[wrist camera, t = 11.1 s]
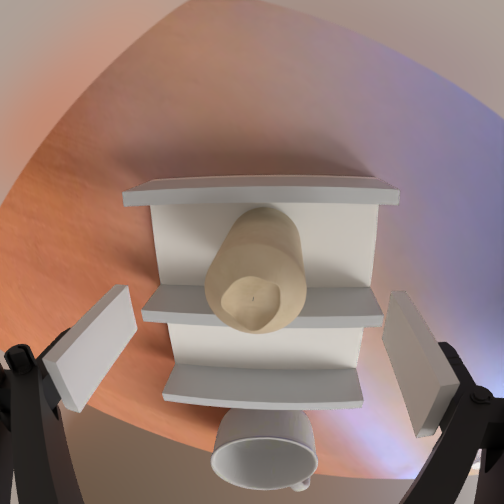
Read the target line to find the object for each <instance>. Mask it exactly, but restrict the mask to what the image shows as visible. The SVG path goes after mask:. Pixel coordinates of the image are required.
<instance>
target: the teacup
mask: <svg viewBox="0 0 504 504" xmlns="http://www.w3.org/2000/svg"><path fill="white" fill-rule="evenodd" d="M211 466H212V468H213V470H214V472H215V473H216V474H217V475H218V476H219V477H220V478H222V479H224V480H225V481H227V482H229V483H232V484H234V485H236V486H239V487H244V488H248V489H255V490H274V489H280V488H286V487H290V488H292V489H293V490H294V491H302V490H305V489H306V488H308V487H309V485H310V476H311V475H312V474H313V473H314V472H315V470H316V468H317V466H318V458H317V455H316V450H315V441H314V435H313V430H312V426H311V423H310V421H309V419H308V417H307V415H306V414H305V413H304V412H303V411H302V410H263V409H243V408H231V409H230V410H229V411H228V412H227V413H226V414H225V416H224V417H223V419H222V421H221V423H220V425H219V429H218V432H217V436H216V441H215V445H214V451H213V453H212V455H211Z"/></svg>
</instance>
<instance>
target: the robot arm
mask: <svg viewBox="0 0 504 504" xmlns="http://www.w3.org/2000/svg"><path fill="white" fill-rule="evenodd" d="M136 331H137V325H136V321H135V317H134V312H133V308H132V303H131V299H130V294H129V289H128V285H117V284H115V285H114V286H113V287H112V288H111V289H110V290H109V291H108V292H107V293H106V294H105V295H104V296H103V297H102V298H101V299H100V300H99V301H98V302H97V303H96V304H95V305H94V306H93V307H92V308H91V309H90V310H89V311H88V312H87V313H86V314H85V315H84V316H83V317H82V318H81V319H80V320H79V321H78V322H77V323H76V324H75V325H74V326H73V327H72V328H69V329H67V330H65V331H63V332H62V333H61V334H60V335H59V336H58V337H57V338H56V339H55V340H54V341H53V342H52V343H51V344H50V345H49V346H48V347H47V348H46V349H45V350H44V351H43V352H42V353H41V354H40V355H39V356H38V357H37V358H36V359H35V358H34V356H33V353H32V351H31V349H30V347H29V346H28V345H26V344H18V345H15V346H13V347H11V348H10V349H8V350H7V351H6V353H5V355H4V358H5V360H6V362H7V364H8V366H9V368H10V370H5V369H3V367H2V365H1V363H0V504H10V499H11V488H12V479H13V471H14V474H15V482H16V489H17V495H18V501H19V504H84V501H83V498H82V495H81V492H80V489H79V486H78V483H77V479H76V476H75V472H74V469H73V465H72V462H71V458H70V454H69V449H68V445H67V441H66V437H65V432H64V427H63V422H62V417H61V412H60V409H59V406H58V405H57V404H58V403H59V401H60V400H61V399H62V401H63V403H64V405H65V407H66V408H67V409H69V410H72V411H75V412H78V413H80V412H81V411H82V409H83V408H84V406H85V405H86V403H87V402H88V400H89V399H90V397H91V396H92V394H93V393H94V391H95V390H96V388H97V387H98V385H99V384H100V382H101V381H102V379H103V378H104V377H105V375H106V374H107V372H108V371H109V369H110V368H111V366H112V365H113V364H114V362H115V361H116V359H117V358H118V356H119V355H120V354H121V352H122V351H123V349H124V348H125V346H126V345H127V344H128V342H129V341H130V339H131V338H132V337H133V335H134V334H135V332H136ZM382 340H383V342H384V345H385V348H386V350H387V353H388V356H389V358H390V361H391V364H392V367H393V369H394V372H395V375H396V378H397V381H398V384H399V387H400V389H401V392H402V395H403V398H404V401H405V404H406V407H407V410H408V414H409V417H410V420H411V423H412V426H413V429H414V433H415V436H416V438H419V437H425V436H431V435H434V434H435V432H436V430H437V428H438V426H440V428H441V431H442V434H441V436H440V437H439V439H438V441H437V442H436V444H435V446H434V447H433V450H432V452H431V454H430V456H429V457H428V459H427V461H426V462H425V464H424V466H423V467H422V469H421V471H420V472H419V474H418V476H417V477H416V479H415V480H414V482H413V483H412V485H411V487H410V488H409V490H408V491H407V492H406V494H405V495H404V497H403V498H402V500H401V501H400V503H399V504H454V503H455V501H456V499H457V497H458V495H459V493H460V491H461V489H462V487H463V485H464V483H465V480H466V478H467V476H468V474H469V472H470V469H471V467H472V465H473V462H474V460H475V457H476V455H477V452H478V450H479V449H482V453H481V462H480V470H479V477H478V483H477V490H476V495H475V501H474V504H504V398H495V397H494V396H493V394H492V393H491V392H490V391H489V390H488V389H487V388H485V387H483V386H478V385H476V384H475V382H474V380H473V379H472V377H471V375H470V373H469V372H468V370H467V368H466V367H465V365H464V364H463V362H462V360H461V358H459V355H458V354H457V352H456V350H455V349H454V348H453V347H452V346H451V345H449V344H448V343H447V342H438V343H437V341H436V339H435V338H434V336H433V334H432V333H431V331H430V329H429V328H428V326H427V324H426V323H425V321H424V320H423V318H422V316H421V315H420V313H419V312H418V310H417V308H416V307H415V305H414V304H413V302H412V301H411V299H410V297H409V296H408V294H407V293H406V291H391V295H390V301H389V306H388V311H387V317H386V322H385V326H384V331H383V336H382Z"/></svg>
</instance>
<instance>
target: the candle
mask: <svg viewBox="0 0 504 504" xmlns="http://www.w3.org/2000/svg"><path fill="white" fill-rule="evenodd" d="M204 288H205V295H206V299H207V302H208V304H209V306H210V308H211V310H212V311H213V312H214V314H215V315H216V316H217V317H218V318H219V319H220V320H221V321H222V322H223V323H225V324H226V325H228V326H229V327H231V328H233V329H236V330H238V331H241V332H245V333H251V334H265V333H270V332H274V331H277V330H279V329H282V328H284V327H285V326H287V325H288V324H290V323H291V322H292V321H293V320H294V319H295V318H296V317H297V316H298V315H299V313H300V312H301V310H302V308H303V306H304V303H305V300H306V293H307V287H306V278H305V270H304V263H303V255H302V248H301V241H300V236H299V232H298V229H297V227H296V225H295V224H294V222H293V221H292V220H291V219H290V218H289V217H288V216H287V215H286V214H284V213H283V212H281V211H279V210H277V209H273V208H268V207H260V208H255V209H252V210H249V211H247V212H245V213H244V214H242V215H241V216H240V217H239V218H238V219H237V220H236V221H235V223H234V224H233V226H232V227H231V229H230V231H229V233H228V234H227V236H226V238H225V240H224V242H223V243H222V245H221V247H220V249H219V251H218V252H217V254H216V256H215V258H214V260H213V261H212V263H211V265H210V267H209V269H208V271H207V274H206V277H205V286H204Z"/></svg>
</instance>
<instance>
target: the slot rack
mask: <svg viewBox="0 0 504 504" xmlns="http://www.w3.org/2000/svg"><path fill="white" fill-rule="evenodd" d="M122 196H123V204H124V207H126V206H146V205H150V208H151V217H152V226H153V234H154V242H155V249H156V257H157V264H158V270H159V277H160V283H161V284H160V286H159V287H158V288H157V290H156V291H155V292H154V294H153V295H152V296H151V298H150V299H149V300H148V302H147V303H146V304H145V306H144V307H143V308H142V310H141V312H142V317H143V321H147V322H159V323H167V324H168V329H169V334H170V339H171V344H172V349H173V354H174V359H175V365H174V367H173V370H172V372H171V374H170V376H169V379H168V381H167V383H166V385H165V388H164V390H163V392H162V395H163V398H164V400H165V401H172V402H179V403H187V404H196V405H205V406H216V407H228V408H243V409H263V410H331V409H352V408H362V405H363V401H364V400H363V396H362V391H361V387H360V383H359V379H358V375H357V370H356V366H357V361H358V356H359V351H360V346H361V341H362V335H363V330H364V327H382V323H383V318H384V314H383V312H382V310H381V308H380V306H379V304H378V302H377V300H376V298H375V296H374V294H373V292H372V290H371V288H370V285H371V278H372V270H373V262H374V253H375V243H376V233H377V221H378V208H379V205H399V199H400V189H398V188H396V187H394V186H392V185H390V184H388V183H386V182H384V181H382V180H380V179H378V178H376V177H359V176H331V175H232V176H204V177H183V178H166V179H153V180H151V181H148V182H146V183H143V184H141V185H138V186H136V187H133V188H131V189H129V190H126V191H124V192H122ZM260 207H268V208H273V209H277V210H279V211H281V212H283V213H284V214H286V215H287V216H288V217H289V218H290V219H291V220H292V221H293V222H294V224H295V225H296V227H297V229H298V232H299V236H300V241H301V248H302V255H303V263H304V270H305V278H306V287H307V293H306V300H305V303H304V306H303V308H302V310H301V312H300V313H299V315H298V316H297V317H296V318H295V319H294V320H293V321H292V322H291V323H290V324H288V325H287V326H285V327H284V328H282V329H279V330H277V331H274V332H270V333H265V334H251V333H245V332H241V331H238V330H236V329H233V328H231V327H229V326H228V325H226V324H225V323H223V322H222V321H221V320H220V319H219V318H218V317H217V316H216V315H215V314H214V312H213V311H212V310H211V308H210V306H209V304H208V302H207V299H206V295H205V288H204V286H205V277H206V274H207V271H208V269H209V267H210V265H211V263H212V261H213V260H214V258H215V256H216V254H217V252H218V251H219V249H220V247H221V245H222V243H223V242H224V240H225V238H226V236H227V234H228V233H229V231H230V229H231V227H232V226H233V224H234V223H235V221H236V220H237V219H238V218H239V217H240V216H241V215H242V214H244V213H245V212H247V211H249V210H252V209H255V208H260Z"/></svg>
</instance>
